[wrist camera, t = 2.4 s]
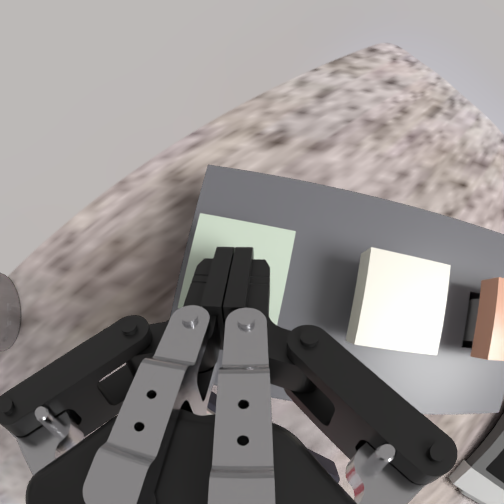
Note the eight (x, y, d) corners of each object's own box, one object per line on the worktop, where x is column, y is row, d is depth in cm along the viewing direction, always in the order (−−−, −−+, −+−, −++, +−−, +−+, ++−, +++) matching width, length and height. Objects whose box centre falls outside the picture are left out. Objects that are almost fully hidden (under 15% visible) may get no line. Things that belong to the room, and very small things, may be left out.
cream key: (333, 335, 20) (354, 344, 15) (347, 262, 21) (371, 247, 16) (399, 346, 20) (437, 355, 14) (411, 275, 21) (450, 265, 15)
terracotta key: (444, 351, 19) (487, 359, 14) (455, 285, 20) (498, 277, 15) (490, 355, 19) (533, 362, 14) (499, 294, 20) (543, 288, 14)
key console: (187, 355, 26) (159, 369, 19) (222, 198, 28) (208, 164, 21) (457, 395, 23) (498, 412, 17) (480, 255, 26) (523, 241, 19)
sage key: (200, 308, 21) (177, 307, 16) (217, 236, 22) (200, 212, 16) (274, 324, 21) (275, 330, 15) (289, 250, 21) (295, 231, 16)
